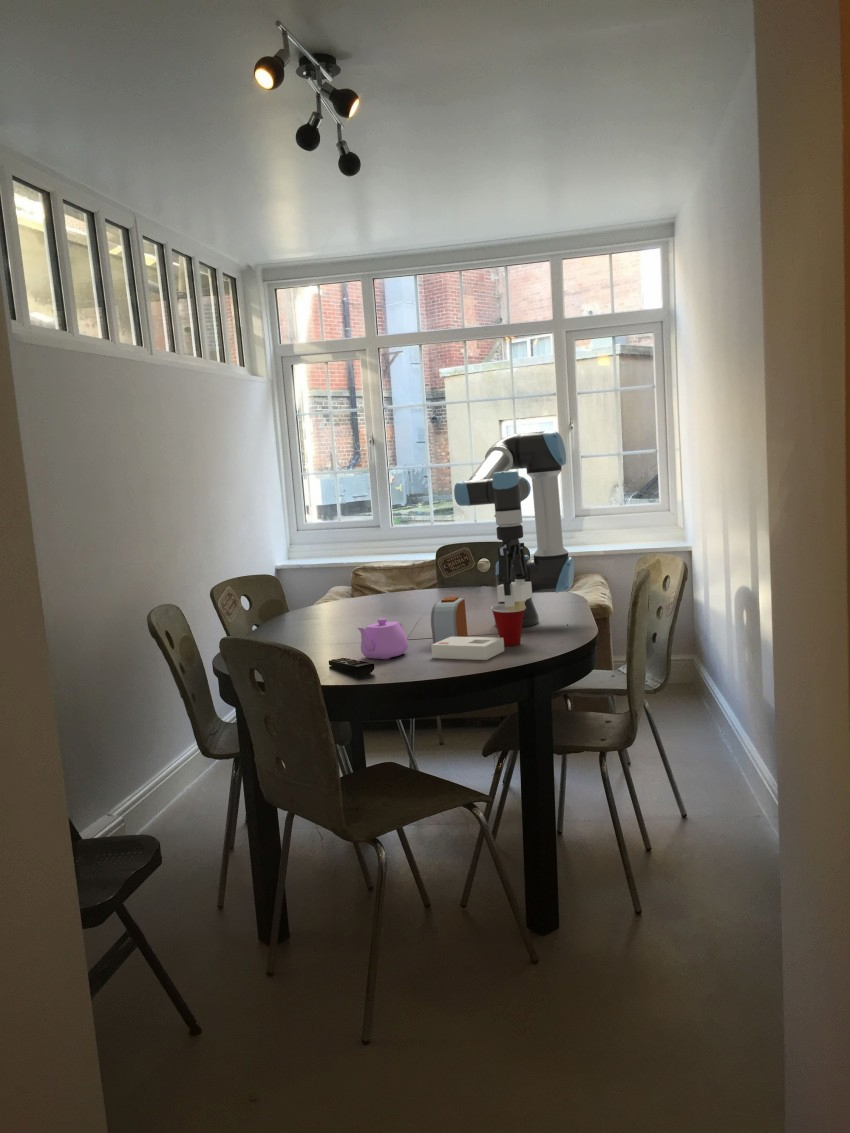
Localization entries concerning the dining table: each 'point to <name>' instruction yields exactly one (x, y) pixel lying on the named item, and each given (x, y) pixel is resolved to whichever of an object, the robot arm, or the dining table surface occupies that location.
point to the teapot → (383, 640)
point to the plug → (517, 594)
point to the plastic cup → (508, 624)
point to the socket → (468, 648)
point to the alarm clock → (448, 619)
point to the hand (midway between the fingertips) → (515, 603)
